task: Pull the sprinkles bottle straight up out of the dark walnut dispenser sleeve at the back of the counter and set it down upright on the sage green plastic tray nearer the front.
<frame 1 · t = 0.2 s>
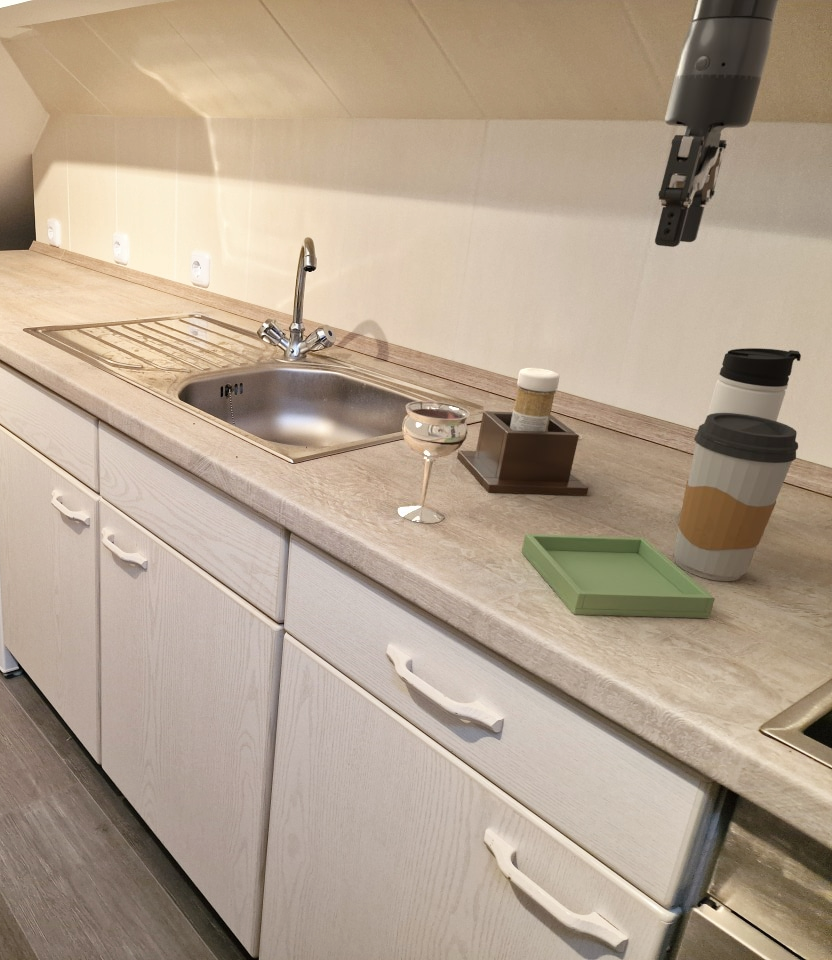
hand: (675, 243, 90), 29 cm above the worktop, tool pointing down, fingers open, 8 cm apart
sprinkles bottle: (518, 477, 107), resting in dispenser
coffee cup: (707, 569, 85), on the worktop
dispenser: (518, 475, 107), on the worktop
travel mug: (711, 525, 96), on the worktop
wineglass: (420, 515, 94), on the worktop
tray: (608, 583, 81), on the worktop
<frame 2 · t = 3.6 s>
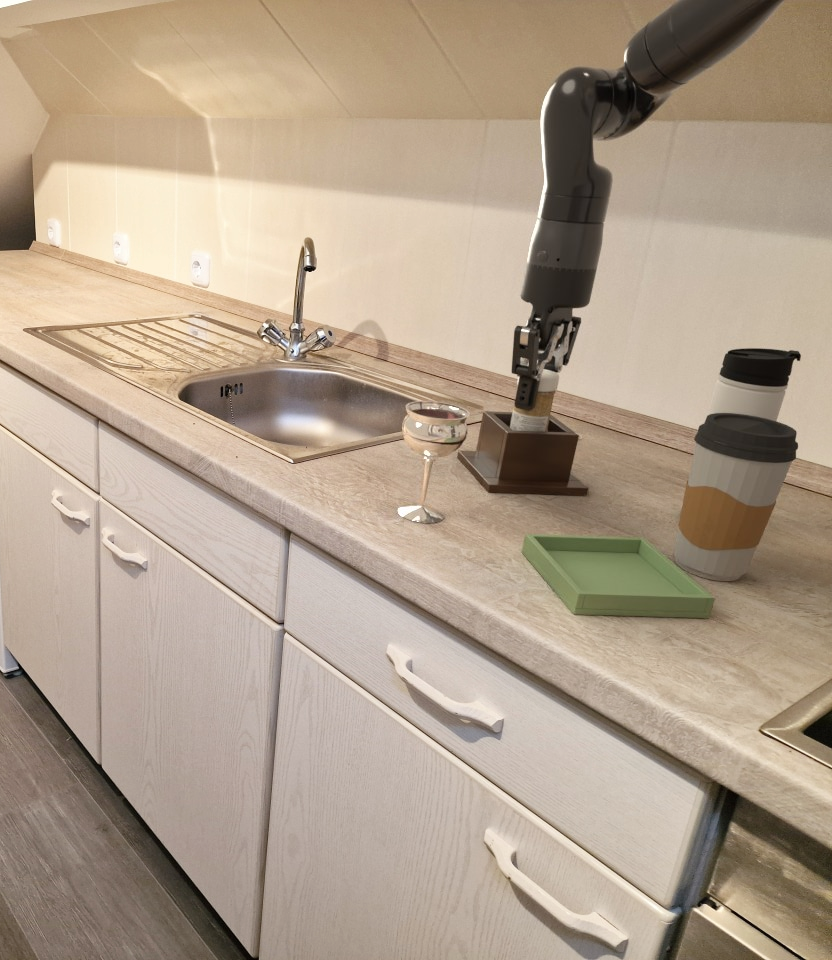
hand: (533, 404, 103), 9 cm above the worktop, tool pointing down, fingers closed on sprinkles bottle, 4 cm apart
sprinkles bottle: (518, 477, 107), resting in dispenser, touching gripper
everything else where it was.
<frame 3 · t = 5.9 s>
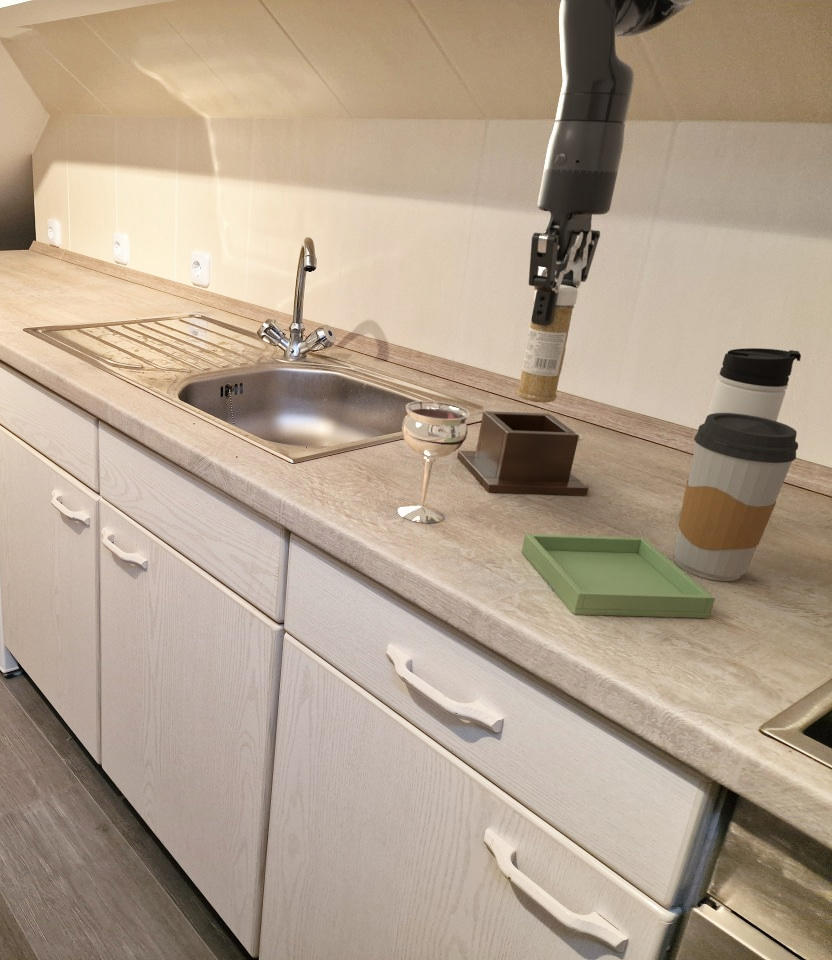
hand: (550, 321, 100), 19 cm above the worktop, tool pointing down, fingers closed on sprinkles bottle, 4 cm apart
sprinkles bottle: (535, 399, 103), point 10 cm above the worktop, touching gripper
everything else where it was.
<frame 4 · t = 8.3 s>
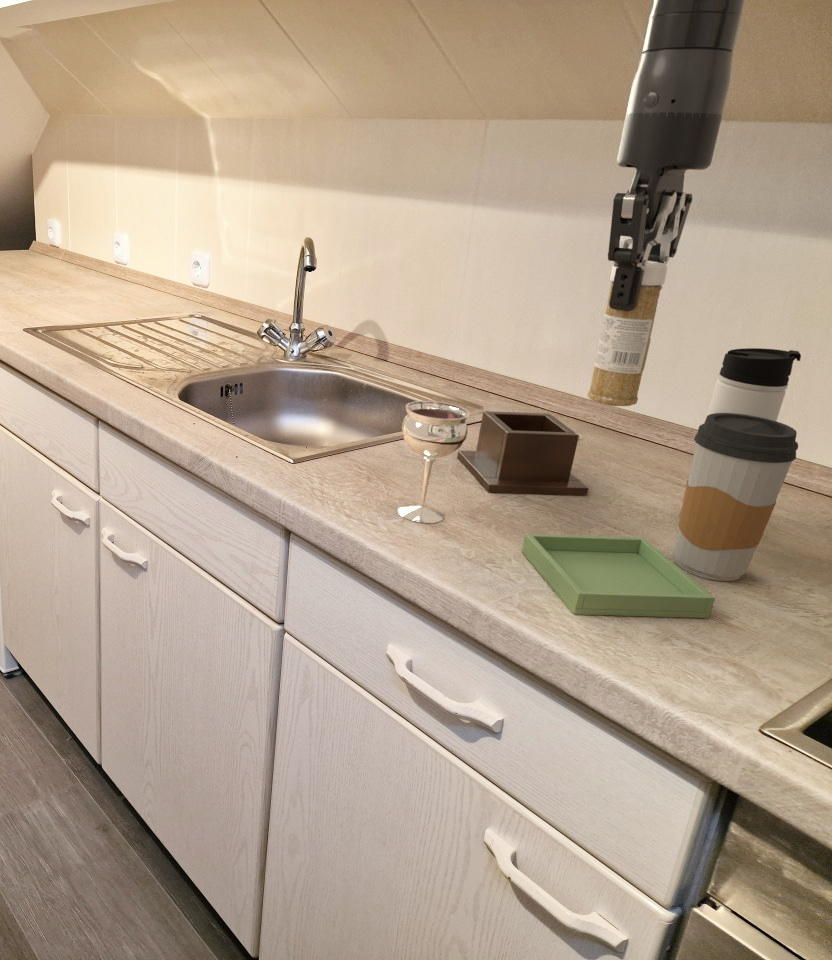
hand: (631, 306, 80), 25 cm above the worktop, tool pointing down, fingers closed on sprinkles bottle, 4 cm apart
sprinkles bottle: (610, 403, 84), point 15 cm above the worktop, touching gripper
everything else where it was.
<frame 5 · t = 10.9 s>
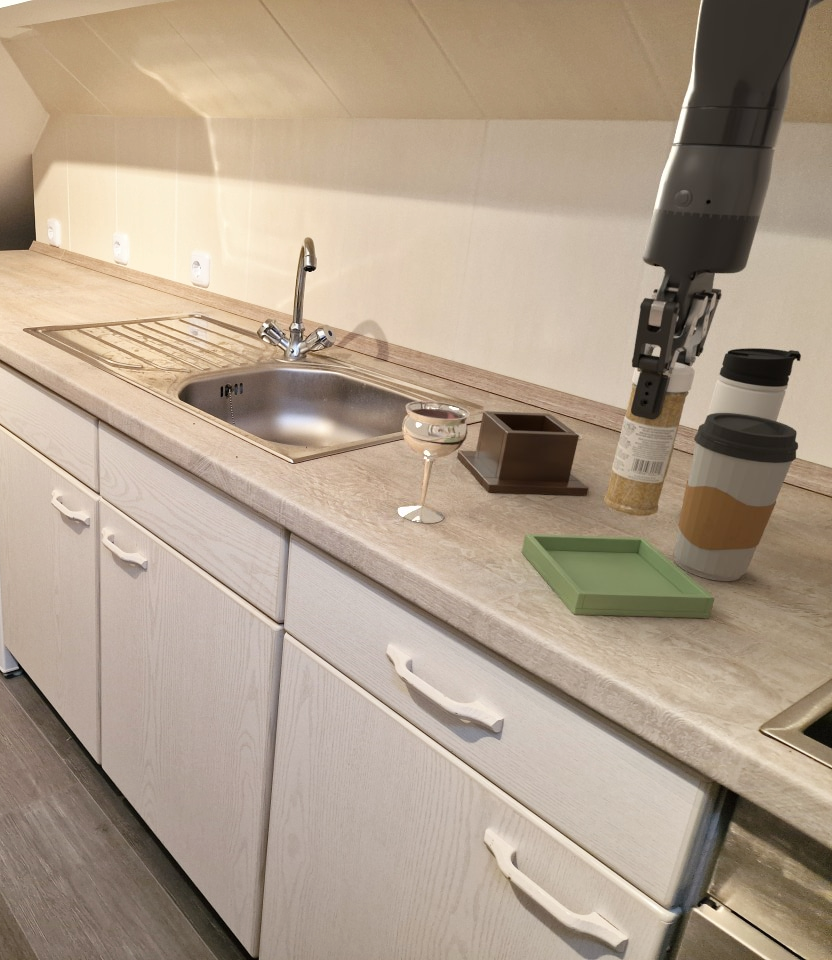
hand: (654, 410, 74), 17 cm above the worktop, tool pointing down, fingers closed on sprinkles bottle, 4 cm apart
sprinkles bottle: (628, 509, 78), point 8 cm above the worktop, touching gripper
everything else where it was.
when the fingers open (10 cm above the worktop, at t = 13.0 s): sprinkles bottle stays where it is, resting on tray.
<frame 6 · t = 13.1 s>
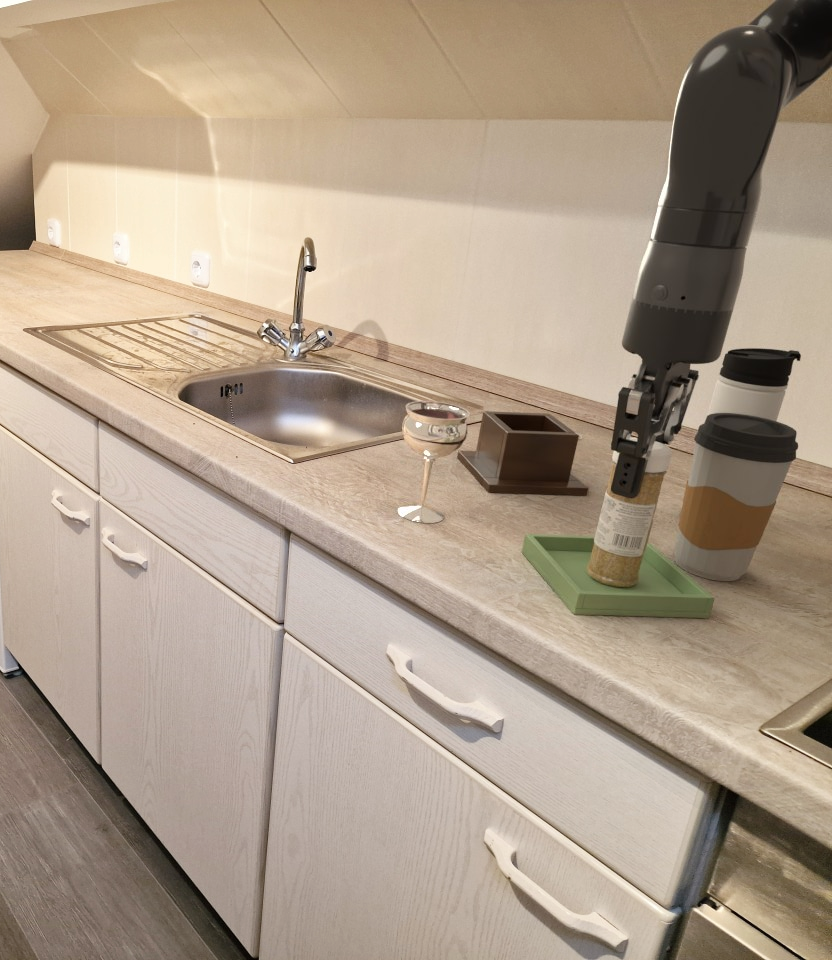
hand: (634, 487, 77), 10 cm above the worktop, tool pointing down, fingers open, 4 cm apart
sprinkles bottle: (610, 579, 81), resting on tray
everything else where it was.
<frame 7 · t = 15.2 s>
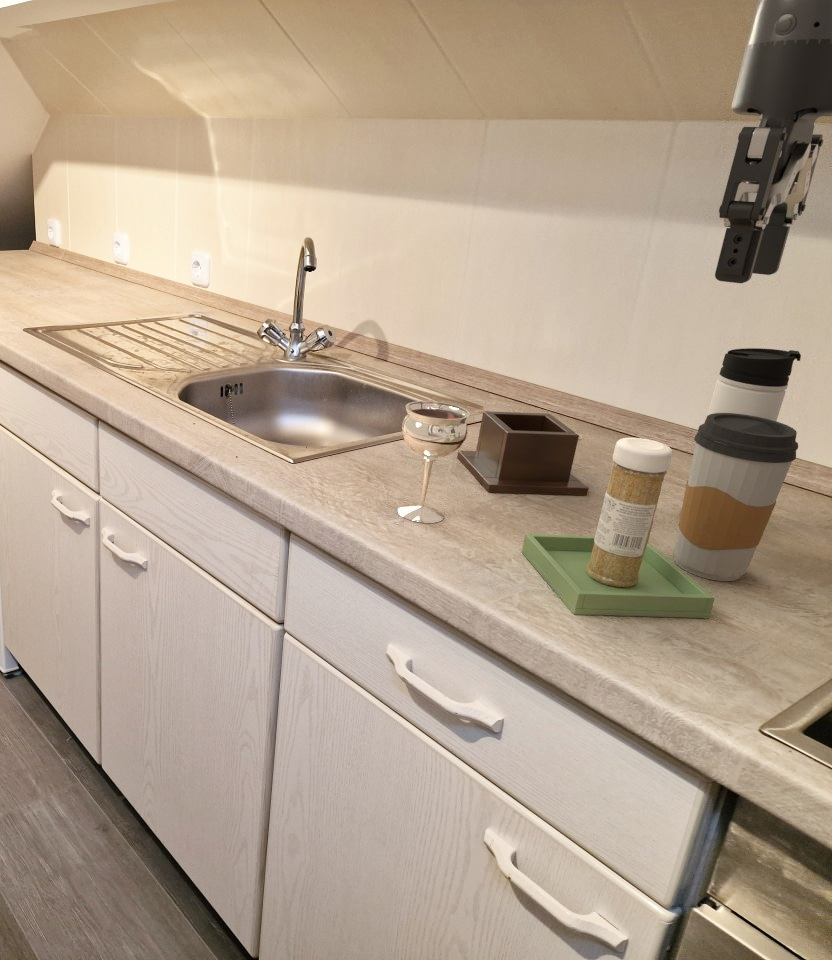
hand: (746, 277, 65), 29 cm above the worktop, tool pointing down, fingers open, 8 cm apart
nothing on the worktop moved.
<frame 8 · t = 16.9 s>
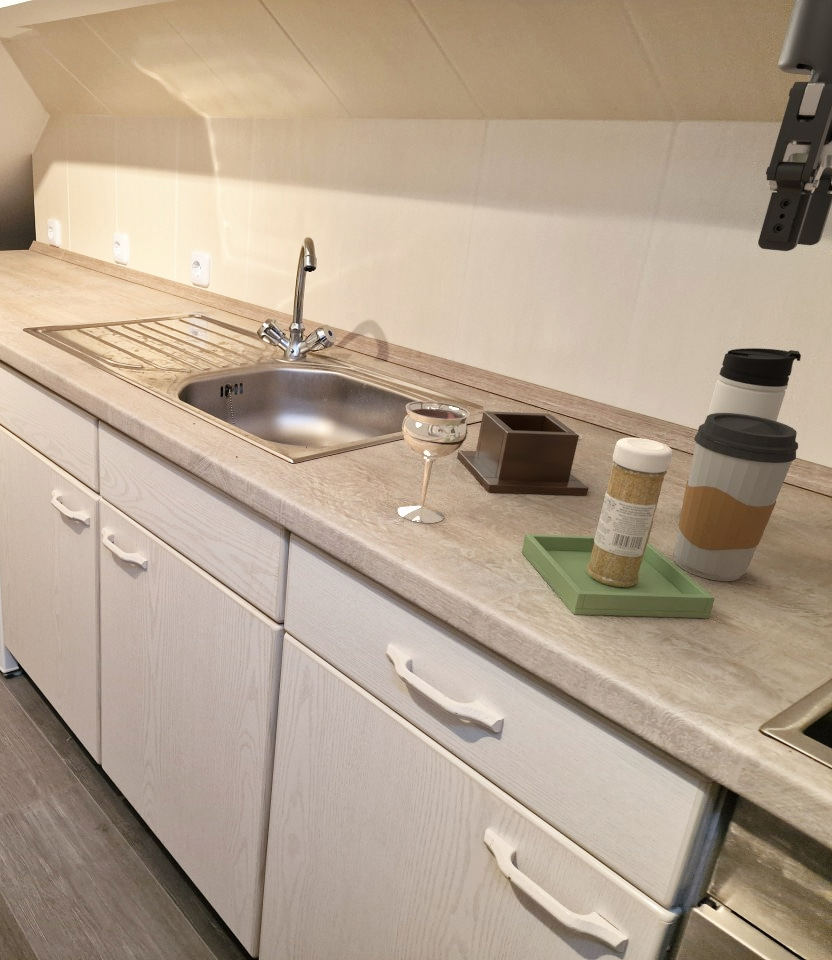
hand: (788, 246, 62), 32 cm above the worktop, tool pointing down, fingers open, 8 cm apart
nothing on the worktop moved.
at the end: sprinkles bottle inside the target area in the tray (0.0 cm from its centre), point 0.4 cm above the tray's base; sprinkles bottle tilted 0°; the gripper is holding nothing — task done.
